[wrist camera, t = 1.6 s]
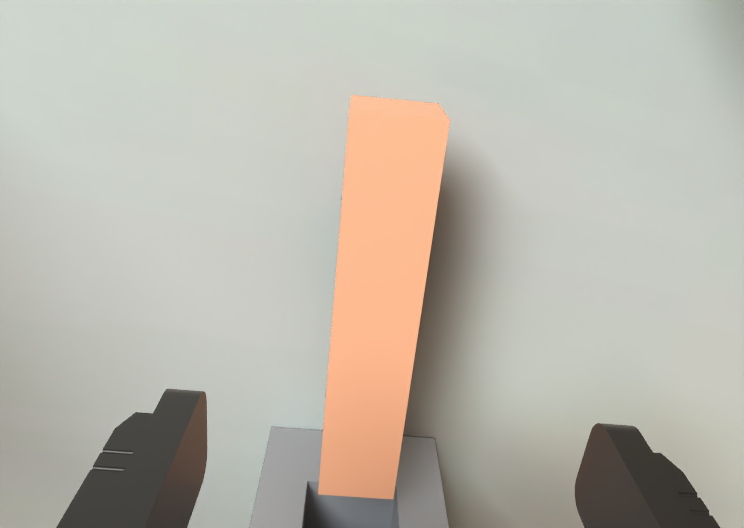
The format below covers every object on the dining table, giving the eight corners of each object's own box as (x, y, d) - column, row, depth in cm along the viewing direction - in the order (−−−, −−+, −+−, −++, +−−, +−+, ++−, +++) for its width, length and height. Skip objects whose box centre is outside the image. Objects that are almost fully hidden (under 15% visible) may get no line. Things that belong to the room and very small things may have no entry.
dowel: (351, 94, 22) (349, 109, 19) (438, 103, 22) (450, 119, 19) (322, 442, 28) (317, 494, 25) (390, 447, 28) (393, 499, 25)
